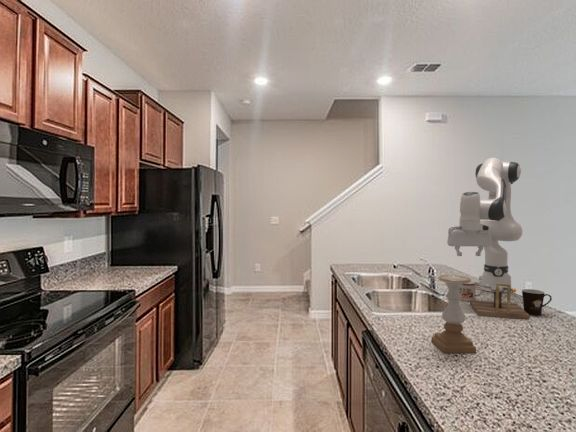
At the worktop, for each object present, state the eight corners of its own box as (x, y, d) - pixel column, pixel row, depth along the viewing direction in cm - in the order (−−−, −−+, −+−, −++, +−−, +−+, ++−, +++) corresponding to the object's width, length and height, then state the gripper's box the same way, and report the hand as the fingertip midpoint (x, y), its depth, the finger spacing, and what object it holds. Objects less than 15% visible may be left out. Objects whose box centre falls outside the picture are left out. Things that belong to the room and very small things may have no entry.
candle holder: (461, 341, 140) (462, 274, 139) (476, 353, 129) (478, 280, 128) (430, 341, 140) (432, 274, 139) (444, 353, 129) (445, 281, 128)
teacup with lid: (455, 300, 198) (455, 277, 197) (456, 296, 206) (457, 274, 206) (482, 303, 192) (482, 279, 192) (482, 299, 201) (482, 276, 200)
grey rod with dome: (471, 286, 187) (471, 281, 187) (478, 285, 190) (478, 280, 189) (511, 295, 170) (511, 289, 170) (519, 293, 172) (519, 288, 172)
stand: (469, 304, 191) (470, 274, 190) (515, 307, 185) (516, 277, 185) (477, 315, 172) (478, 283, 171) (529, 319, 166) (530, 285, 166)
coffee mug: (521, 314, 173) (522, 292, 173) (520, 309, 181) (521, 288, 180) (553, 318, 168) (554, 295, 167) (550, 313, 175) (551, 291, 175)
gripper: (452, 226, 179) (451, 256, 180) (493, 227, 182) (492, 256, 182) (445, 225, 186) (444, 255, 186) (485, 226, 188) (484, 255, 189)
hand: (468, 255), depth 184 cm, fingers open, 8 cm apart
